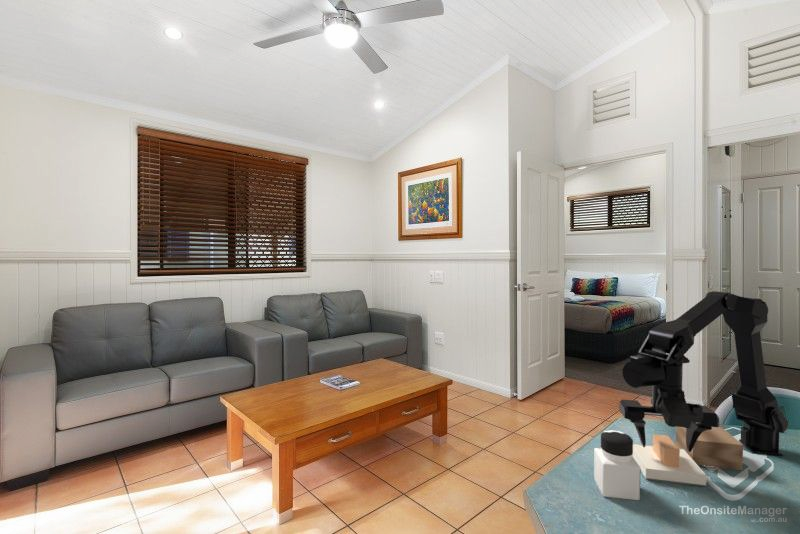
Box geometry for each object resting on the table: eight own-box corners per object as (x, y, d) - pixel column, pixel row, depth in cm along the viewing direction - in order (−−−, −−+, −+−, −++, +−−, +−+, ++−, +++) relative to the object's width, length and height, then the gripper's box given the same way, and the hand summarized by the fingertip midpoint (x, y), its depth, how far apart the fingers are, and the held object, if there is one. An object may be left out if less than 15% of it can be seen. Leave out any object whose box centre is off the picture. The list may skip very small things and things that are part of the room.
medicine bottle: (640, 501, 83) (641, 443, 82) (602, 497, 84) (603, 440, 84) (628, 481, 90) (629, 428, 89) (593, 478, 91) (594, 425, 91)
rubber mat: (682, 460, 98) (682, 458, 98) (703, 486, 88) (703, 484, 87) (632, 455, 101) (632, 453, 101) (646, 479, 90) (646, 477, 90)
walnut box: (720, 449, 103) (721, 426, 103) (742, 470, 94) (743, 444, 93) (675, 445, 106) (676, 422, 106) (692, 464, 96) (693, 440, 96)
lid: (683, 458, 98) (684, 433, 98) (706, 485, 87) (707, 457, 87) (630, 452, 101) (630, 428, 101) (645, 478, 90) (646, 450, 90)
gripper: (632, 391, 88) (631, 461, 89) (733, 398, 83) (731, 472, 84) (618, 375, 99) (617, 438, 99) (707, 381, 94) (706, 447, 95)
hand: (665, 448), depth 94 cm, fingers open, 9 cm apart
